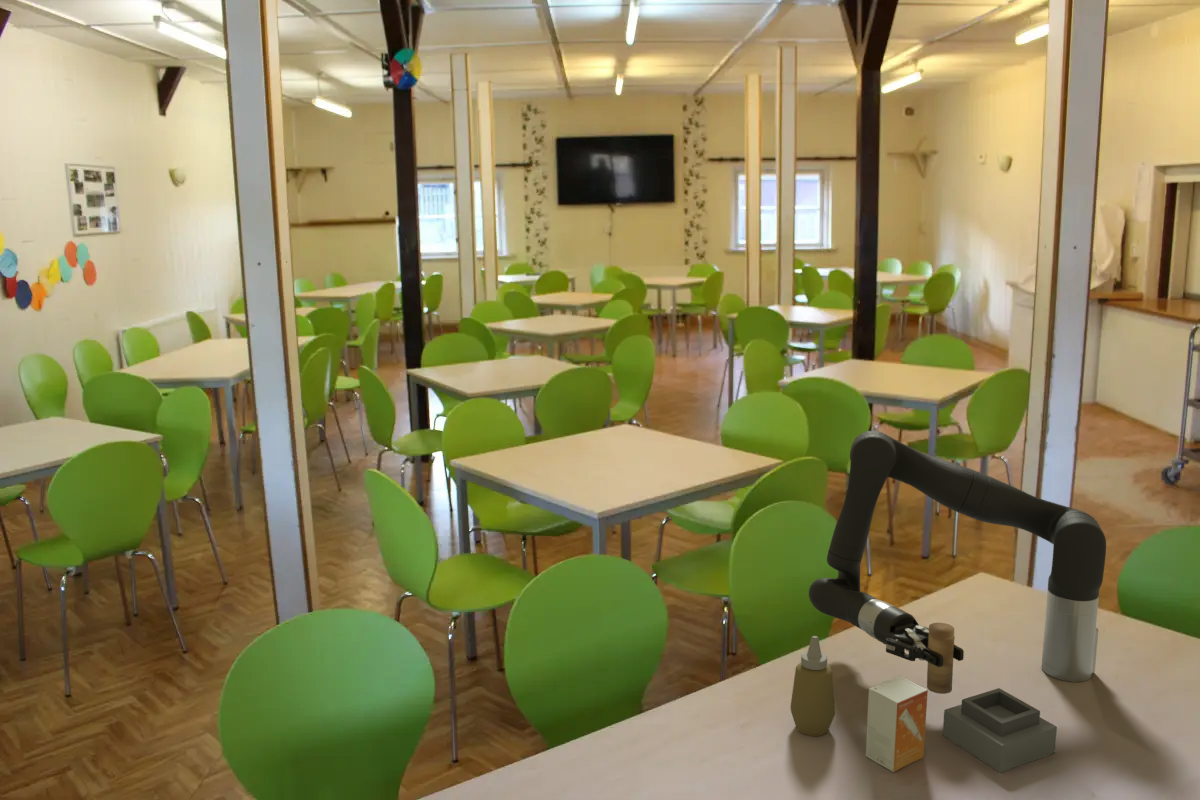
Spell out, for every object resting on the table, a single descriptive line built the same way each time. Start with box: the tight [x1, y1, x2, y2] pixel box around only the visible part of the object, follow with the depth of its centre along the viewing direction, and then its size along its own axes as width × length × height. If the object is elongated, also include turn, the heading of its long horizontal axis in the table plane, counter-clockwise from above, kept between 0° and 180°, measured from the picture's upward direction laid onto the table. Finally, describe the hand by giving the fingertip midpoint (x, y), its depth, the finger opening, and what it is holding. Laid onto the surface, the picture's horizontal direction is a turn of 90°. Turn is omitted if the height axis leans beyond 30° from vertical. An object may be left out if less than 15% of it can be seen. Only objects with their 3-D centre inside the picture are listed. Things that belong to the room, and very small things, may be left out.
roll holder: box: [942, 687, 1058, 773], centre depth 169 cm, size 13×13×8 cm
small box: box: [865, 675, 929, 773], centre depth 165 cm, size 8×6×13 cm
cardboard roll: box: [926, 622, 955, 695], centre depth 177 cm, size 4×4×12 cm
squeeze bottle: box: [790, 635, 836, 737], centre depth 174 cm, size 8×8×18 cm
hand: (951, 658), depth 174 cm, fingers closed on cardboard roll, 4 cm apart
